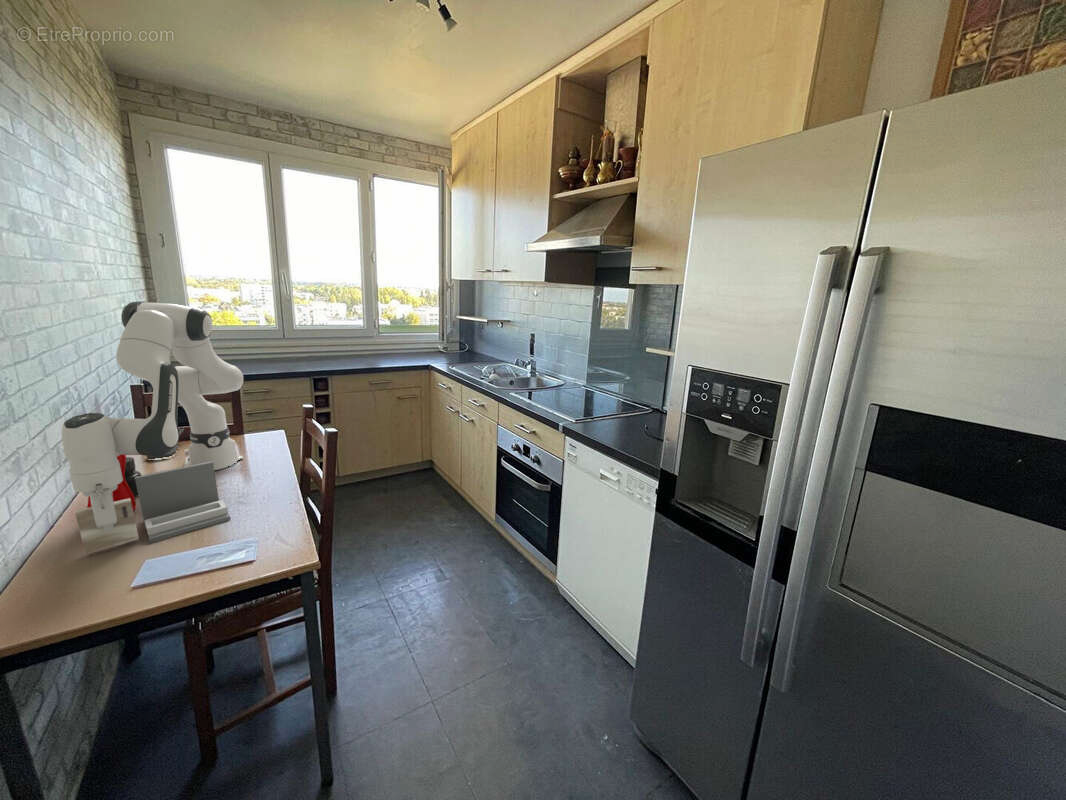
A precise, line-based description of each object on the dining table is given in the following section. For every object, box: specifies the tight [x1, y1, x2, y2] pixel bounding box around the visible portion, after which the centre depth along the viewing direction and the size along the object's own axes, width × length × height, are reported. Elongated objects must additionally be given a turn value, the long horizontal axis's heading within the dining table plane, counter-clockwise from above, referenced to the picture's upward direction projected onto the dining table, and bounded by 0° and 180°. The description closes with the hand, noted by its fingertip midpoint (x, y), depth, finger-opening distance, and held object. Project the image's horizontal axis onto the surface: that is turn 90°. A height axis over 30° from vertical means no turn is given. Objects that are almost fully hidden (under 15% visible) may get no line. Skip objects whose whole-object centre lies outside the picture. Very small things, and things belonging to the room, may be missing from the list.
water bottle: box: [86, 455, 137, 511], centre depth 125 cm, size 9×11×25 cm
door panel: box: [75, 498, 140, 555], centre depth 111 cm, size 3×10×11 cm, turn 136°
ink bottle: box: [125, 456, 142, 498], centre depth 140 cm, size 10×9×12 cm
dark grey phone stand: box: [146, 426, 185, 459], centre depth 180 cm, size 9×7×25 cm
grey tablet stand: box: [135, 461, 231, 544], centre depth 125 cm, size 16×18×14 cm
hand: (109, 528), depth 111 cm, fingers closed on door panel, 2 cm apart
